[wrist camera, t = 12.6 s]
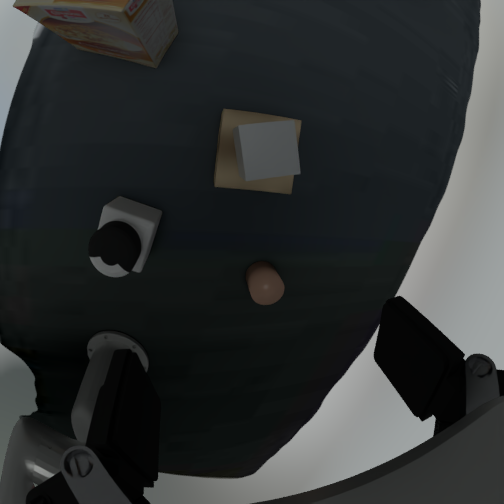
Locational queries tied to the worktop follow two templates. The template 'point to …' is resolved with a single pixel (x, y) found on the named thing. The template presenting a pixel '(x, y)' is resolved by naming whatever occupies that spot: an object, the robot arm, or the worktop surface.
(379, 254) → the worktop surface
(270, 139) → the grey cube
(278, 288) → the terracotta cylinder
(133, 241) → the medicine bottle
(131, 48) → the coffeecake box
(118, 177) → the worktop surface
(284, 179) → the oak block
